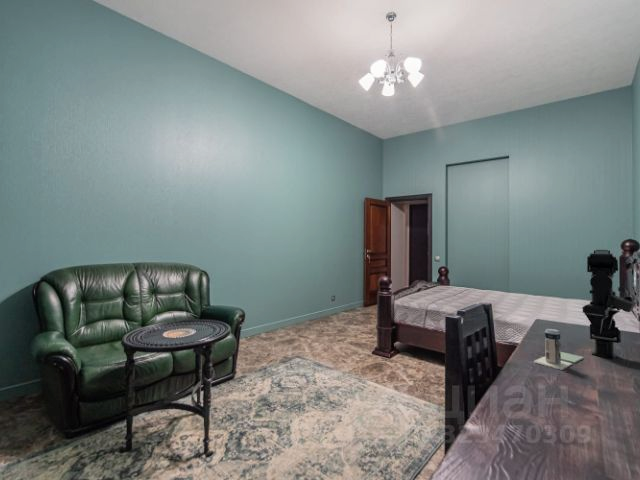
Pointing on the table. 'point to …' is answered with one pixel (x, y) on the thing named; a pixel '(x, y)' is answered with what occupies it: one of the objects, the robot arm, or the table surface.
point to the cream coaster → (557, 366)
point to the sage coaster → (570, 357)
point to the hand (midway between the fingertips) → (602, 331)
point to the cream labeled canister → (552, 346)
